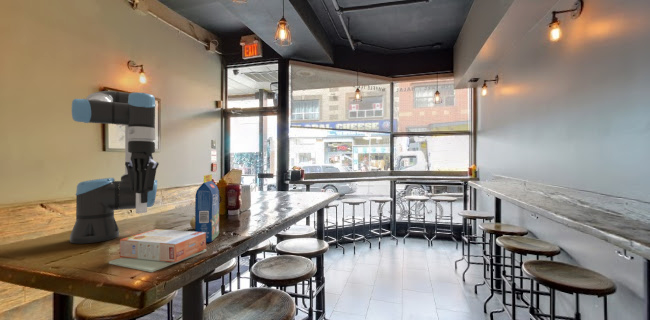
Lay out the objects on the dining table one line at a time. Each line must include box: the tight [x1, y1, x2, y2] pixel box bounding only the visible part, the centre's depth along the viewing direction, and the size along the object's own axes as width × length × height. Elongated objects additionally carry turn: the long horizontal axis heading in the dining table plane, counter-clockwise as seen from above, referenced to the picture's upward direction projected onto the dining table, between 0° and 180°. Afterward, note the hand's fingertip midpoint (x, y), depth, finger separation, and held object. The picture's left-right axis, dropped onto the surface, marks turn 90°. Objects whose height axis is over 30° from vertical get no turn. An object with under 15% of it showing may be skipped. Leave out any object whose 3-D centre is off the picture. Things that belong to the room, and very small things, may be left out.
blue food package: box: [194, 174, 220, 243], centre depth 115 cm, size 6×12×25 cm, turn 8°
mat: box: [108, 248, 208, 273], centre depth 92 cm, size 18×20×1 cm
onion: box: [189, 216, 195, 231], centre depth 130 cm, size 8×8×7 cm
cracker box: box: [119, 228, 207, 264], centre depth 94 cm, size 14×6×21 cm
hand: (141, 212), depth 96 cm, fingers closed
